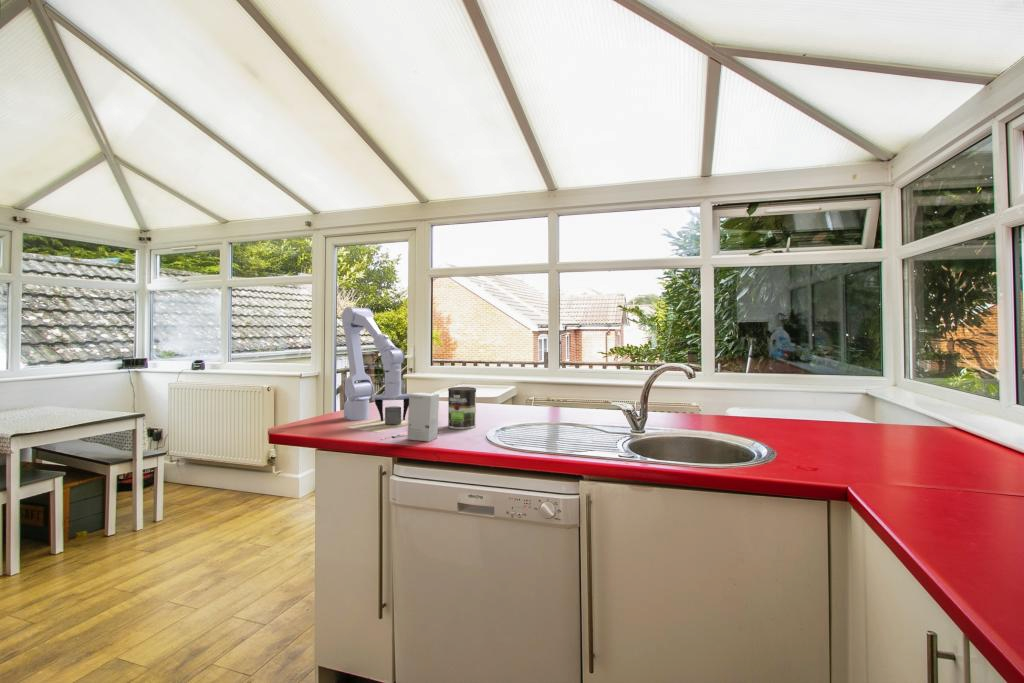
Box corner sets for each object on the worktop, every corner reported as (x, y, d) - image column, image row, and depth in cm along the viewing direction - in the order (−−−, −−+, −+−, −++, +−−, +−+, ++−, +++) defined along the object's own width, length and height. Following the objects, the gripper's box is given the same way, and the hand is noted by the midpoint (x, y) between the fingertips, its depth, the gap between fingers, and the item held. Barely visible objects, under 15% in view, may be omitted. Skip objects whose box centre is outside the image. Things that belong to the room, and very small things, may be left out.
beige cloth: (341, 430, 166) (341, 426, 166) (386, 421, 184) (386, 417, 184) (376, 436, 157) (376, 432, 157) (420, 426, 174) (420, 422, 174)
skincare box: (407, 440, 152) (407, 393, 152) (417, 436, 158) (417, 391, 158) (430, 442, 150) (430, 395, 149) (439, 438, 155) (439, 392, 155)
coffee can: (469, 430, 168) (470, 390, 168) (443, 428, 171) (443, 389, 171) (480, 424, 178) (480, 387, 178) (454, 423, 181) (455, 386, 181)
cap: (385, 424, 167) (384, 409, 167) (385, 421, 173) (385, 406, 173) (401, 423, 169) (401, 408, 169) (400, 420, 174) (400, 406, 174)
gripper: (371, 384, 165) (371, 423, 165) (413, 383, 168) (413, 421, 168) (372, 382, 172) (372, 419, 172) (413, 381, 175) (413, 417, 175)
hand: (393, 420), depth 171 cm, fingers open, 7 cm apart
